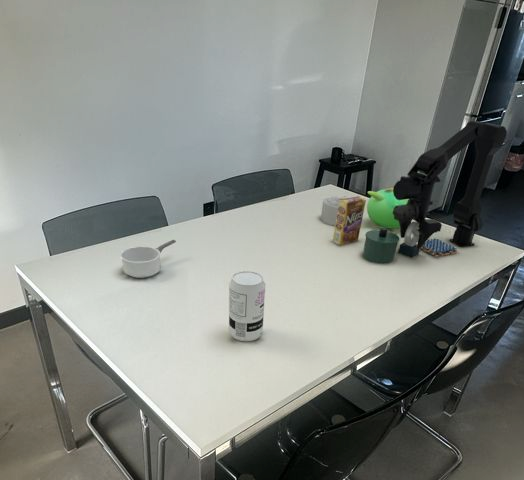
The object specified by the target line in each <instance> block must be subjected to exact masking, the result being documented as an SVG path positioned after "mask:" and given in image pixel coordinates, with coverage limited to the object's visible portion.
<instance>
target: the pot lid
mask: <svg viewBox="0 0 524 480" xmlns="http://www.w3.org/2000/svg"><path fill="white" fill-rule="evenodd" d="M364 235H365V239H366V238H367V239H369V240H370V241H373V242H376V243H381V244H394V243H397V242H398V243H399V242H400V239H401V237H400V236H399V235H398V234H396V233H394V232H392V231H389V228H387V227H383V226H381V227H380V228H379V229H372V230H368V231H366V232H365V234H364ZM398 243H397V244H398Z"/></svg>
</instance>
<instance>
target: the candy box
mask: <svg viewBox="0 0 524 480" xmlns="http://www.w3.org/2000/svg"><path fill="white" fill-rule="evenodd" d="M366 203H367V199H366V198H365V197H362V196H359V195H358V196H352V197H346V199H340V202H339V207H338V213H337V219H336V225H335V226H334V229H333V230H334V231H333V235H332V236H333V237H332V242H333V243H334V244H336V245H338V246H342V245H346V244H350V243H351V244H352V243H355V242H359V237H360V236H359V235H360V232H361V227H362V223H363V219H364V218H363V217H364V213H365V207H366Z"/></svg>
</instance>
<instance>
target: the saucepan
mask: <svg viewBox="0 0 524 480" xmlns="http://www.w3.org/2000/svg"><path fill="white" fill-rule="evenodd" d="M175 243H177V241H176V240H175V239H172V240H170V241H167V242H165V243H163V244H161V245H159V246H158V247H152V246H146V245H145V246H143V245H141V246H133V247H128V248H126V249H123V250H122V251H121V252H120V253H119V257H120V259H121V262H122V270H123V271H122V272H123V273H124V274H125V275H127V276H130V277H132V278H136V279H137V278H138V279H145V278H150V277H153V276H154V275H156V274H157V273H159V272H160V271H161V261H160V256H161V254H162V252H163V250H164V249H165V248H167V247H169V246H171V245H173V244H175Z"/></svg>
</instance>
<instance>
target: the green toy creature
mask: <svg viewBox="0 0 524 480" xmlns="http://www.w3.org/2000/svg"><path fill="white" fill-rule="evenodd" d="M393 188H394V187H391V188H383V189H380V190H378V191H372V190H369V191H367V194H368V195H369V196H370V197H369V199H368V200H367V205H366V212H367V215H368V218H369V219H370V220H371V221H372V222H373V223H374V224H375V225H378V226H380V227H384V228H387V229H394V228H395V229H396V228H400V225H399V221H398V220H395V219H394V214H393V209H394V208H395V207H396V206H398V205H405V204H407V202H408V200H409V199H404V200H397V199H396V198H395V197H394V194H393Z"/></svg>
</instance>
